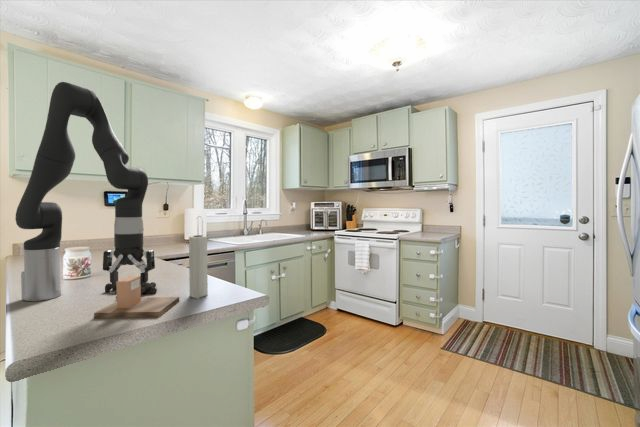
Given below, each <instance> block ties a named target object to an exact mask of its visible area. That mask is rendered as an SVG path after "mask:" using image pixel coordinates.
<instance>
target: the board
mask: <svg viewBox="0 0 640 427" xmlns="http://www.w3.org/2000/svg"><path fill="white" fill-rule="evenodd" d="M179 302H180V296H159V297H157V296H156V297H154V296H153V297H150V296H149V297H141V301H140V302H138V303H137V304H135V305H133V306H132V307H130V308H117V300H116V301H115V302H113V303H111V304H109V305H107V306H105V307H103V308H101V309H99V310H97V311H96V312H93V319H118V318H120V319H121V318H123V319H124V318H128V319H129V318H160V317H161V316H162V315H164V314H165V313H166V312H167V311H168V310H170V309H171V308H173V307H174V306H176V304H178V303H179Z"/></svg>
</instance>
